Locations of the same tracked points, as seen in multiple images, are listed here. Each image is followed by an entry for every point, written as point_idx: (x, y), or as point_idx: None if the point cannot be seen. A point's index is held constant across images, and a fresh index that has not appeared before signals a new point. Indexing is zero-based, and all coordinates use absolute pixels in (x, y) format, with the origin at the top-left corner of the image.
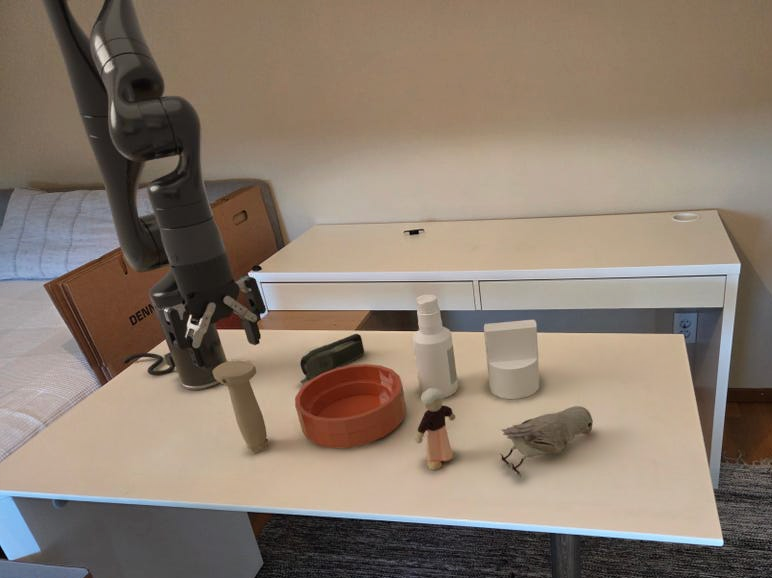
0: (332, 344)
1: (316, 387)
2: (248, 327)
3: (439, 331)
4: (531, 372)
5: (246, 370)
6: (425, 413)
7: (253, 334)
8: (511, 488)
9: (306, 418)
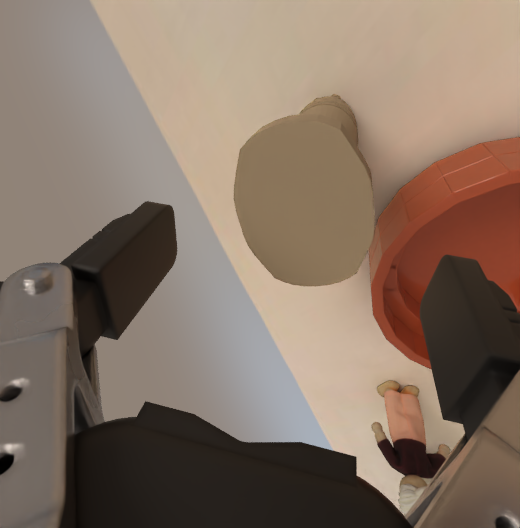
0: None
1: None
2: (450, 371)
3: None
4: None
5: (311, 272)
6: (400, 469)
7: (432, 356)
8: (375, 445)
9: (376, 265)
